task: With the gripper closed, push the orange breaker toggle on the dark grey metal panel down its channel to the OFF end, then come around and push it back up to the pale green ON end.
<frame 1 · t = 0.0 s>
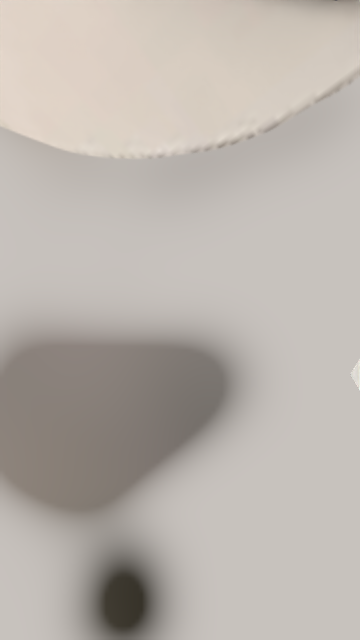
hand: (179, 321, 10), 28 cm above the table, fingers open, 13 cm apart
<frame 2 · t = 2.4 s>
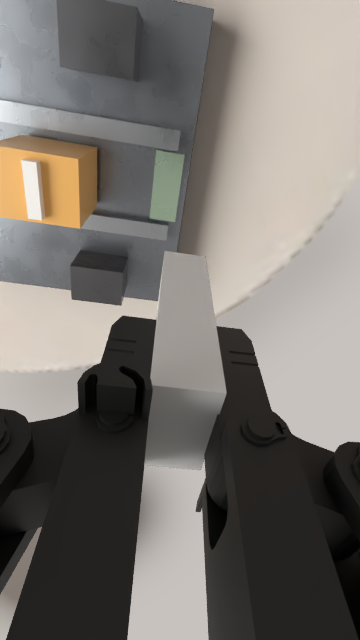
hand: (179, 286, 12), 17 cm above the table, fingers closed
slider: (48, 181, 21), point 6 cm above the table, slide at 0.0 cm
panel: (73, 165, 25), on the table
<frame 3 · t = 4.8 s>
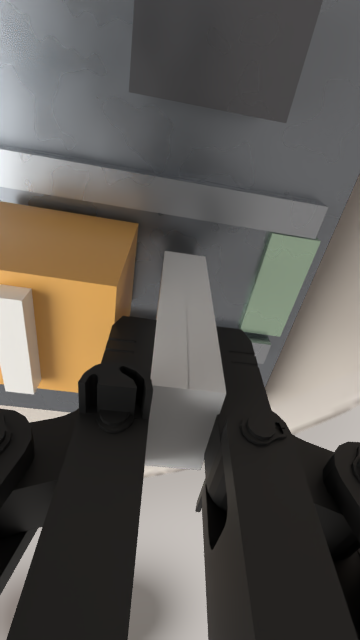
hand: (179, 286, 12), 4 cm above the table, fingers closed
slider: (49, 296, 11), point 6 cm above the table, slide at -1.2 cm, touching gripper
panel: (114, 240, 16), on the table
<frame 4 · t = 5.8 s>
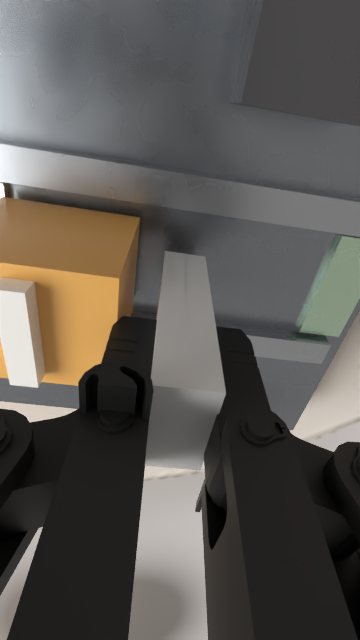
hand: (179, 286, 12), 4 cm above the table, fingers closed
slider: (51, 291, 11), point 6 cm above the table, slide at -4.0 cm, touching gripper
panel: (173, 243, 16), on the table
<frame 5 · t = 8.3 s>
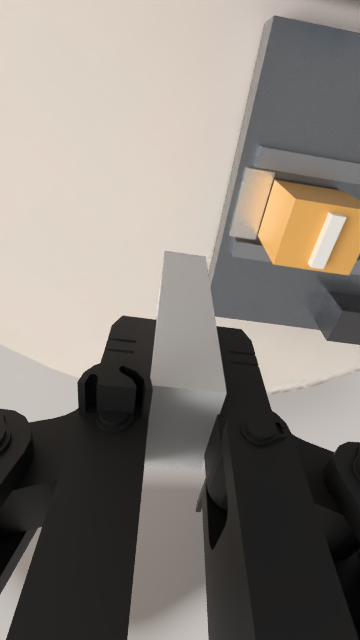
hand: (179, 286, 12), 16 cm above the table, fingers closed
slider: (311, 227, 21), point 6 cm above the table, slide at -4.0 cm
panel: (335, 210, 26), on the table
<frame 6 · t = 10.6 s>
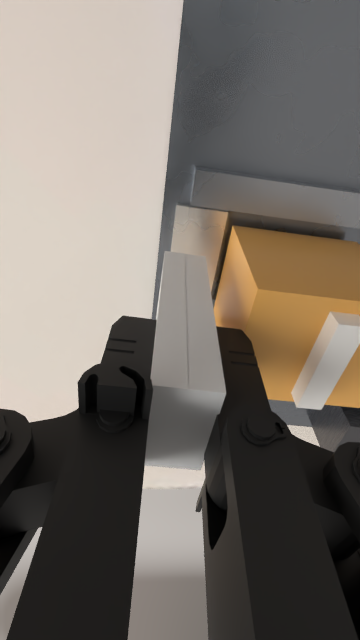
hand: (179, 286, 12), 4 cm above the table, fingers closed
slider: (299, 315, 11), point 6 cm above the table, slide at -3.8 cm, touching gripper
panel: (336, 260, 16), on the table
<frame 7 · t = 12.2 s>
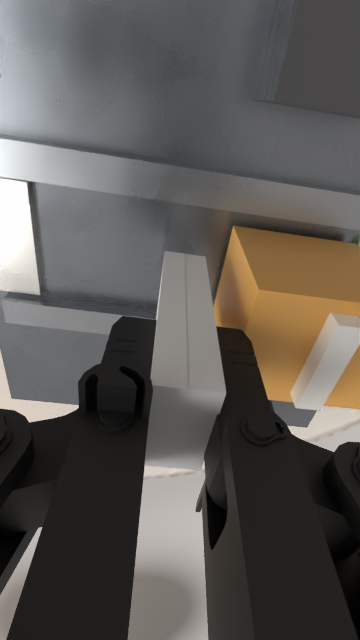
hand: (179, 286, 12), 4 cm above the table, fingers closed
slider: (298, 316, 11), point 6 cm above the table, slide at 3.8 cm, touching gripper
panel: (190, 241, 16), on the table
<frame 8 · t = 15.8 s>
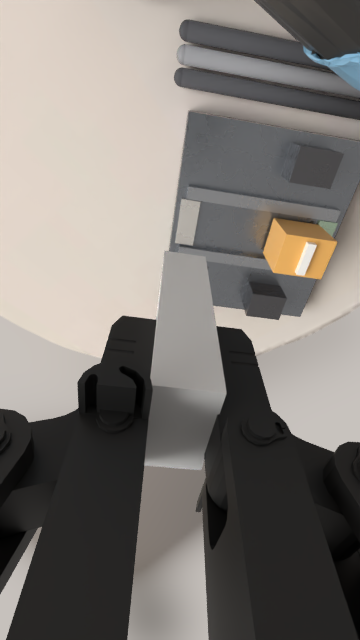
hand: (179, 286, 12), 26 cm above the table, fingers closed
grey cylinders: (291, 76, 30), on the table
slider: (297, 249, 33), point 6 cm above the table, slide at 4.0 cm
panel: (250, 225, 37), on the table
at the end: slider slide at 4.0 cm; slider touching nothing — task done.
